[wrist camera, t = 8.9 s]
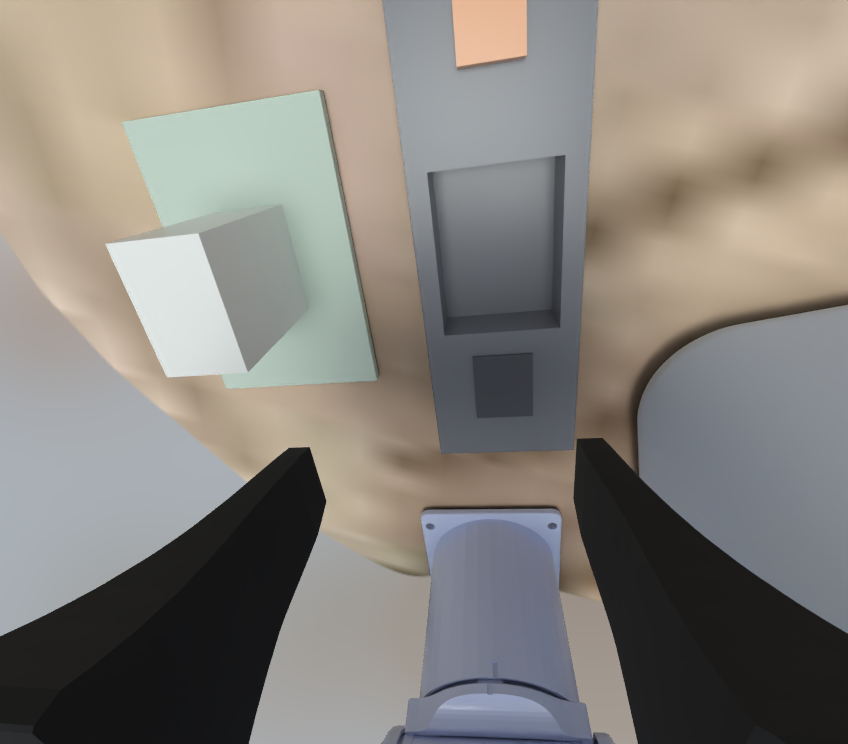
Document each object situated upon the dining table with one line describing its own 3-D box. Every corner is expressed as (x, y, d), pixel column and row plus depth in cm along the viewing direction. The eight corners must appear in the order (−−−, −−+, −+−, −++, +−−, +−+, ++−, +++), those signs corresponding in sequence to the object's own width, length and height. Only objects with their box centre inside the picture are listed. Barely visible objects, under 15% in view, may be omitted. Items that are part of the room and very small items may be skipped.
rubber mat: (378, 375, 21) (376, 380, 21) (231, 383, 22) (226, 388, 22) (323, 91, 16) (318, 89, 15) (130, 122, 17) (121, 122, 16)
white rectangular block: (309, 309, 19) (248, 372, 14) (248, 313, 20) (167, 377, 15) (281, 204, 17) (198, 233, 12) (214, 212, 18) (105, 244, 13)
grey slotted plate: (563, 417, 21) (576, 458, 19) (444, 422, 22) (440, 462, 20) (582, -72, 13) (611, -128, 10) (389, -33, 14) (369, -74, 11)
